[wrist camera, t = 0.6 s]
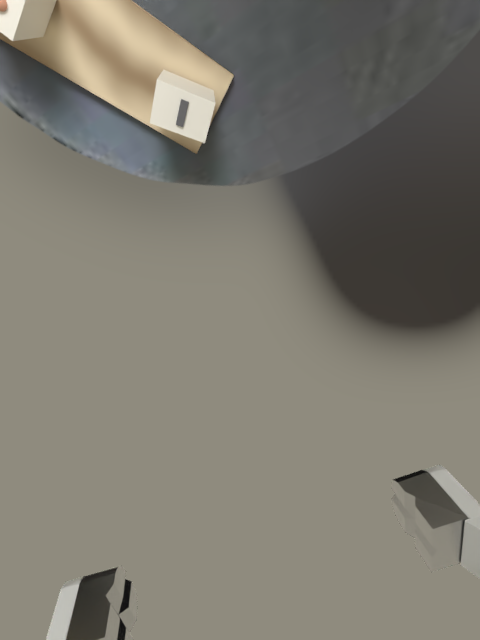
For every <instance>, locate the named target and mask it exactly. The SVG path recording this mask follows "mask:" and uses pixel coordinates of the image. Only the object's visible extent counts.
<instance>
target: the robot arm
mask: <svg viewBox="0 0 480 640" xmlns="http://www.w3.org/2000/svg"><path fill="white" fill-rule="evenodd" d="M391 488H392V490H393V491H394V493H395V495H394V496H393V497H392V507H393V510H394V513H395V516H396V518H397V520H398V522H399V524H400V525H401V527H402V528H403V530H404V531H405V533H407V534H409V535H410V536H412V537H414V538H415V548H416V550H417V551H418V553H419V554H420V556H421V557H422V559H423V560H424V562H425V563H426V565H427V566H428V568H429V569H430V571H431V572H433V571H436V570H440V569H443V568H446V567H450V566H453V565H456V564H460V563H461V566H462V567H464V568H465V569H467V570H468V571H469V572H471V573H472V574H474V575H475V576H477V577H478V578H480V504H479V503H478V502H477V501H476V500H475V499H474V498H473V497H472V496H471V495H470V494H469V493H468V492H467V491H466V489H465V488H463V486H462V485H461V484H460V483H459V482H458V481H457V480H456V479H455V478H454V477H453V476H452V475H451V474H450V473H449V472H448V471H447V470H446V469H445V468H444V467H443V466H441V465H437V466H434V467H431V468H428V469H425V470H420V471H417V472H414V473H411V474H408V475H405V476H402V477H399V478H396V479H393V480H392V482H391ZM125 577H126V571H125V570H124V568H123V567H122V566H118V567H114V568H111V569H107V570H104V571H101V572H97V573H94V574H91V575H88V576H83V577H80V578H77V579H74V580H71V581H68V582H65V584H64V585H63V587H62V589H61V590H60V594H59V597H58V600H57V604H56V607H55V611H54V614H53V617H52V621H51V624H50V628H49V631H48V634H47V638H46V640H133V638H132V636H131V634H130V631H131V629H132V628H133V626H134V624H135V622H136V620H137V594H136V590H135V587H134V585H133V583H132V582H131V581H129V580H126V579H125Z"/></svg>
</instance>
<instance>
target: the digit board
mask: <svg viewBox="0 0 480 640" xmlns="http://www.w3.org/2000/svg"><path fill="white" fill-rule="evenodd" d="M0 39H1V40H3V41H4V42H6V43H8V44H10V45H11V46H13V47H15V48H16V49H18V50H20V51H22V52H23V53H25V54H27V55H28V56H30V57H32V58H34V59H35V60H37V61H39V62H40V63H42V64H44V65H45V66H47V67H49V68H51V69H52V70H54V71H56V72H57V73H59V74H61V75H63V76H64V77H66V78H68V79H69V80H71V81H73V82H74V83H76V84H78V85H80V86H81V87H83V88H85V89H86V90H88V91H90V92H92V93H93V94H95V95H97V96H98V97H100V98H102V99H103V100H105V101H107V102H109V103H110V104H112V105H114V106H115V107H117V108H119V109H121V110H122V111H124V112H126V113H127V114H129V115H131V116H132V117H134V118H136V119H138V120H139V121H141V122H143V123H144V124H146V125H148V126H150V127H151V128H153V129H155V130H156V131H158V132H160V133H161V134H163V135H165V136H167V137H168V138H170V139H172V140H173V141H175V142H177V143H179V144H180V145H182V146H184V147H185V148H187V149H189V150H190V151H192V152H194V153H196V154H197V152H198V150H199V148H200V146H201V144H202V142H200V141H197V140H194V139H192V138H189V137H186V136H183V135H181V134H178V133H175V132H172V131H170V130H167V129H164V128H161V127H159V126H156V125H153V124H150V118H151V112H152V106H153V100H154V94H155V87H156V81H157V78H158V77H159V75H160V74H161V72H162V71H163V69H164V70H166V71H169V72H171V73H174V74H176V75H178V76H181V77H183V78H186V79H188V80H190V81H193V82H195V83H198V84H200V85H202V86H205V87H207V88H210V89H212V90H214V96H215V102H216V104H215V107H214V111H213V115H212V119H211V122H210V125H211V123H212V121H213V118H214V116H215V114H216V112H217V110H218V108H219V106H220V104H221V102H222V100H223V97H224V95H225V93H226V91H227V89H228V87H229V85H230V83H231V81H232V78H233V76H234V75H233V74H232V73H231V72H229V71H228V70H226V69H225V68H224V67H222V66H221V65H220V64H218V63H217V62H215V61H214V60H213V59H211V58H210V57H209V56H207V55H206V54H204V53H203V52H202V51H200V50H199V49H198V48H196V47H195V46H193V45H192V44H191V43H189V42H188V41H187V40H185V39H184V38H182V37H181V36H180V35H178V34H177V33H176V32H174V31H173V30H171V29H170V28H169V27H167V26H166V25H164V24H163V23H162V22H160V21H159V20H158V19H156V18H155V17H153V16H152V15H151V14H149V13H148V12H147V11H145V10H144V9H142V8H141V7H140V6H138V5H137V4H136V3H134V2H133V1H131V0H57V1H56V3H55V6H54V9H53V12H52V14H51V17H50V20H49V23H48V26H47V28H46V31H45V34H44V37H39V38H32V39H25V40H18V41H12V40H10V39H9V38H8V37H6V36H5V35H4V34H2V33H1V32H0ZM209 127H210V126H209Z"/></svg>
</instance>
